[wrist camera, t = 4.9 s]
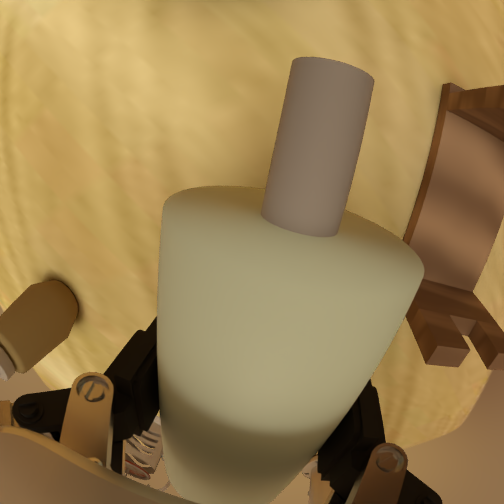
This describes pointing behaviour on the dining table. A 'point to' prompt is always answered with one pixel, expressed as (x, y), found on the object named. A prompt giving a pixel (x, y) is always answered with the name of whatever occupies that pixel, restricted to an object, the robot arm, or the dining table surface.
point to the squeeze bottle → (35, 326)
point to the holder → (459, 228)
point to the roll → (275, 301)
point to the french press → (151, 440)
